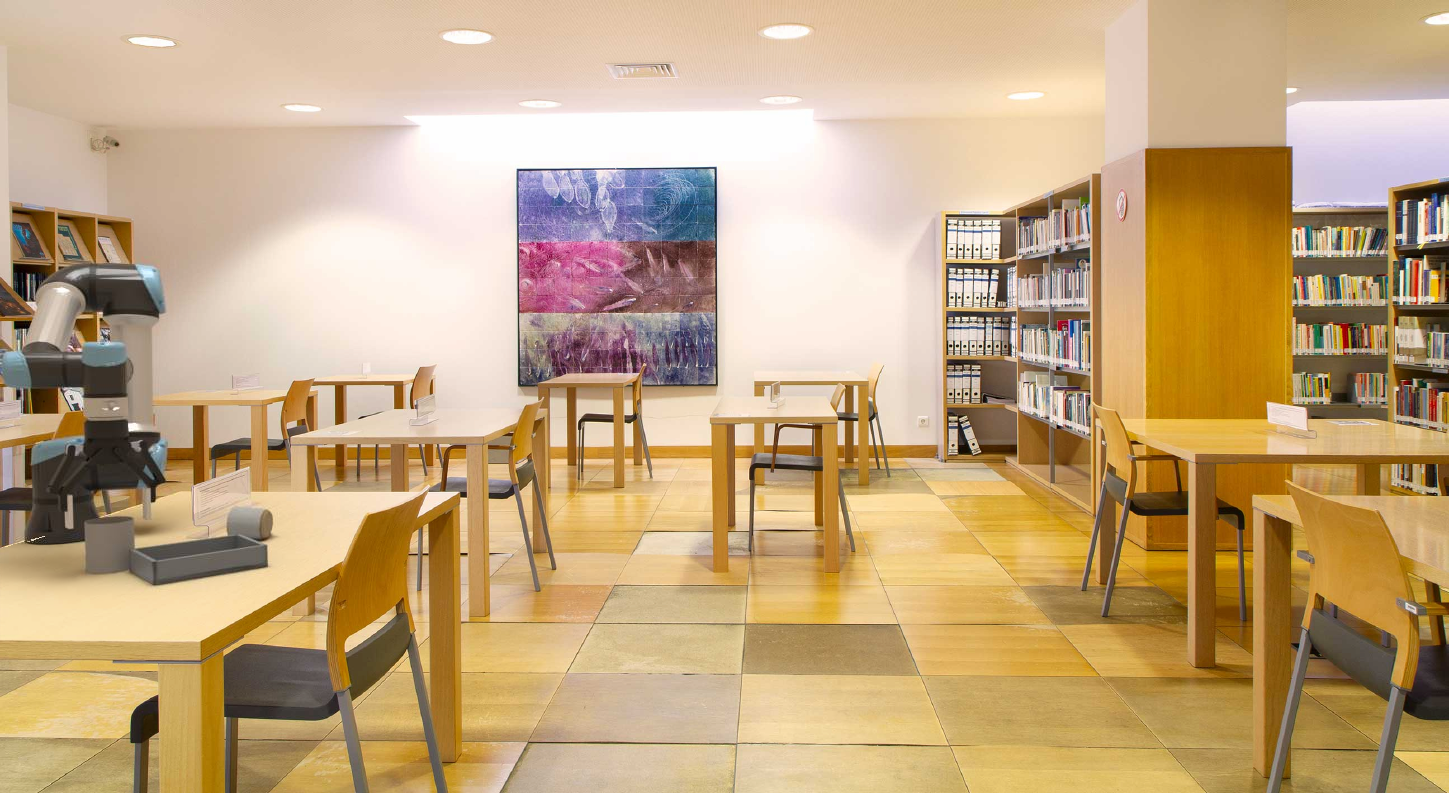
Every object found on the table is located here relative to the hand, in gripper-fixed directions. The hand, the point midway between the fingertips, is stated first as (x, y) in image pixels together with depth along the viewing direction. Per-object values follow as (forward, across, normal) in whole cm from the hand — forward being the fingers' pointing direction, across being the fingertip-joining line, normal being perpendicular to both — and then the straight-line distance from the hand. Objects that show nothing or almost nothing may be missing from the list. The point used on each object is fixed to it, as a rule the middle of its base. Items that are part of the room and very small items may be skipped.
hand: (109, 523), depth 191 cm
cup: (+10, 0, +1) cm, 10 cm away
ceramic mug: (+9, +32, +11) cm, 35 cm away
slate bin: (+10, +13, -12) cm, 20 cm away
